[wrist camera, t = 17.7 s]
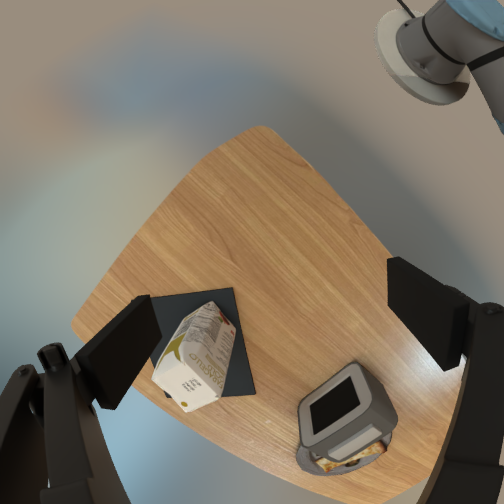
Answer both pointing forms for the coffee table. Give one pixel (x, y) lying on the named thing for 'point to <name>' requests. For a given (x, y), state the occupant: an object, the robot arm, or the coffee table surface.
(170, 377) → the juice carton
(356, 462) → the food plate
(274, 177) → the coffee table surface
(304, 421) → the alarm clock
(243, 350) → the drinks mat
